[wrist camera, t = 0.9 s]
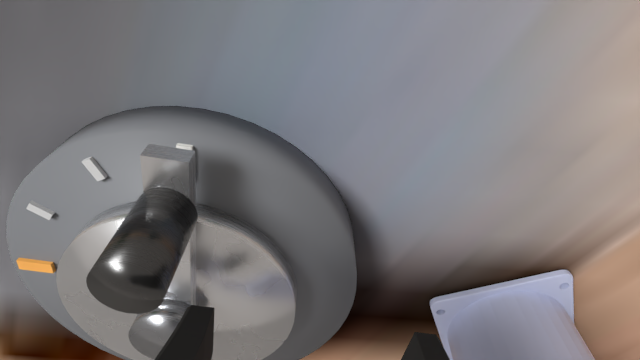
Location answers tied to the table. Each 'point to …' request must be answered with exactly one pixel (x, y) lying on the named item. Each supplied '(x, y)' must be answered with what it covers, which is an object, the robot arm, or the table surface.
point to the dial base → (211, 190)
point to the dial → (176, 270)
